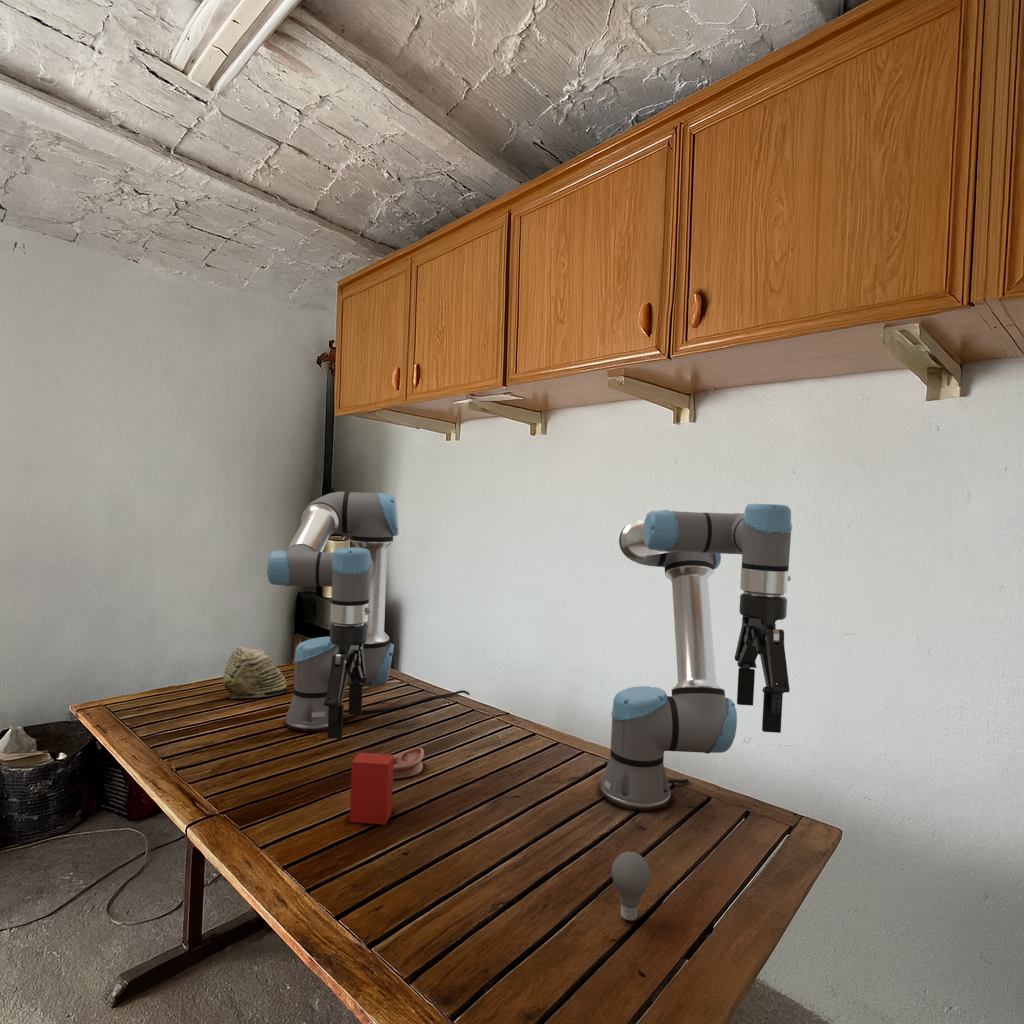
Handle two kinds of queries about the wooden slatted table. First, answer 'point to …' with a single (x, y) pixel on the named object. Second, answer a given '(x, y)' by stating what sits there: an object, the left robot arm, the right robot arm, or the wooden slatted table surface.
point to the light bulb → (630, 881)
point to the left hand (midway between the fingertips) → (345, 725)
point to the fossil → (252, 674)
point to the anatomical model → (408, 763)
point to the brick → (371, 788)
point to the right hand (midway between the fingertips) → (757, 717)
